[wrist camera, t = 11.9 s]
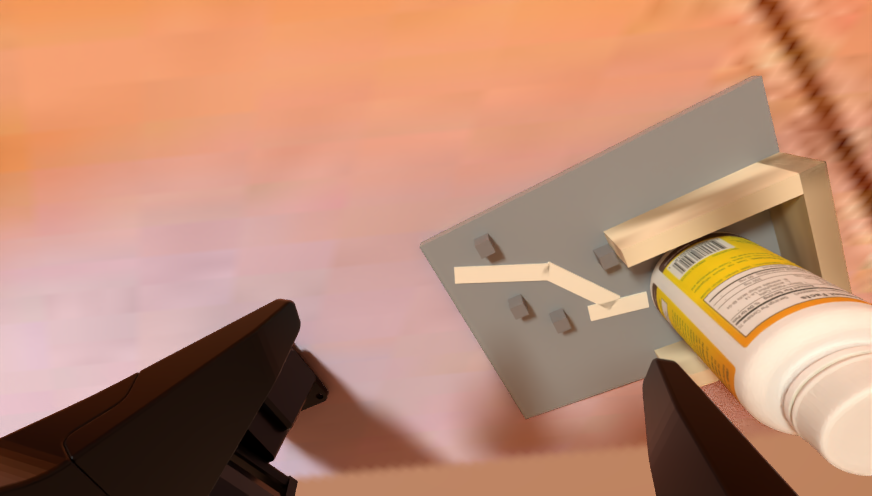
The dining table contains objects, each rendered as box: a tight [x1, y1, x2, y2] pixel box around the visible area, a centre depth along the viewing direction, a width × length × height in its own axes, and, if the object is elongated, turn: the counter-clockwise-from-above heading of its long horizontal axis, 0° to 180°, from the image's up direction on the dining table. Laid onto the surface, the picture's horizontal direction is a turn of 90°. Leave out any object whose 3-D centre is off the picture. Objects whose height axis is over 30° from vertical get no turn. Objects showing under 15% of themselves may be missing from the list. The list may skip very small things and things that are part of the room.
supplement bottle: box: [650, 232, 872, 476], centre depth 16 cm, size 6×6×10 cm
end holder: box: [603, 152, 852, 387], centre depth 19 cm, size 8×10×2 cm
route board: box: [420, 76, 781, 419], centre depth 21 cm, size 18×14×2 cm
